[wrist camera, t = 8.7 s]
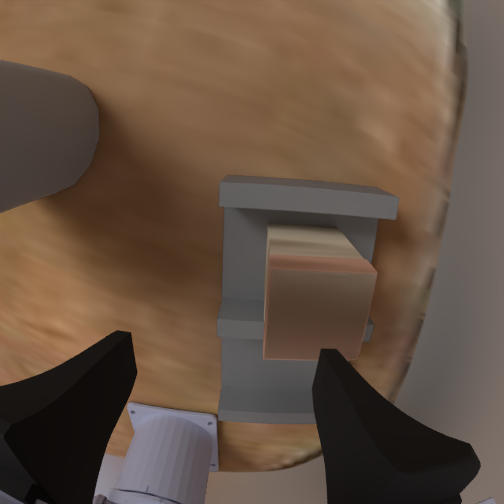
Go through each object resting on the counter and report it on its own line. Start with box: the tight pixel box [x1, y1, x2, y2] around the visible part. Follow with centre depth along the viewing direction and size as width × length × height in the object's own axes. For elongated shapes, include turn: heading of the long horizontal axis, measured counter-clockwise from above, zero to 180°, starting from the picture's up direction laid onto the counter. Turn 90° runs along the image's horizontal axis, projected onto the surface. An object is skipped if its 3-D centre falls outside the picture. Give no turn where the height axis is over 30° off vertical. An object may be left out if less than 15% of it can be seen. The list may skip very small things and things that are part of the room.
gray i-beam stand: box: [217, 175, 399, 424], centre depth 19 cm, size 16×9×4 cm, turn 177°
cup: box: [0, 60, 100, 213], centre depth 13 cm, size 8×8×10 cm
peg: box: [263, 223, 378, 360], centre depth 15 cm, size 4×4×7 cm
